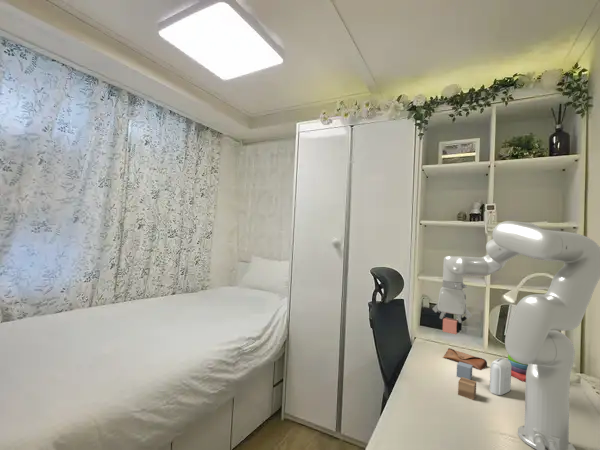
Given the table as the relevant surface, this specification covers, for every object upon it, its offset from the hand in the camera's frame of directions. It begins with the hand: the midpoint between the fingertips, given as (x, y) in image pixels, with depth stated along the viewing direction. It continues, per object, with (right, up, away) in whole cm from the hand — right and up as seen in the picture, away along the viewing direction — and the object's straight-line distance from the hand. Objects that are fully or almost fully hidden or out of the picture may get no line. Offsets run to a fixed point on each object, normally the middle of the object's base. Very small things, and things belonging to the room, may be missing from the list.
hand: (450, 329), depth 120 cm
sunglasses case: (+17, -24, +21) cm, 37 cm away
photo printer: (+15, -21, -8) cm, 27 cm away
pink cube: (0, -1, 0) cm, 1 cm away
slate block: (+8, -21, +4) cm, 23 cm away
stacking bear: (+36, -24, +9) cm, 44 cm away
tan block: (0, -20, -13) cm, 23 cm away
